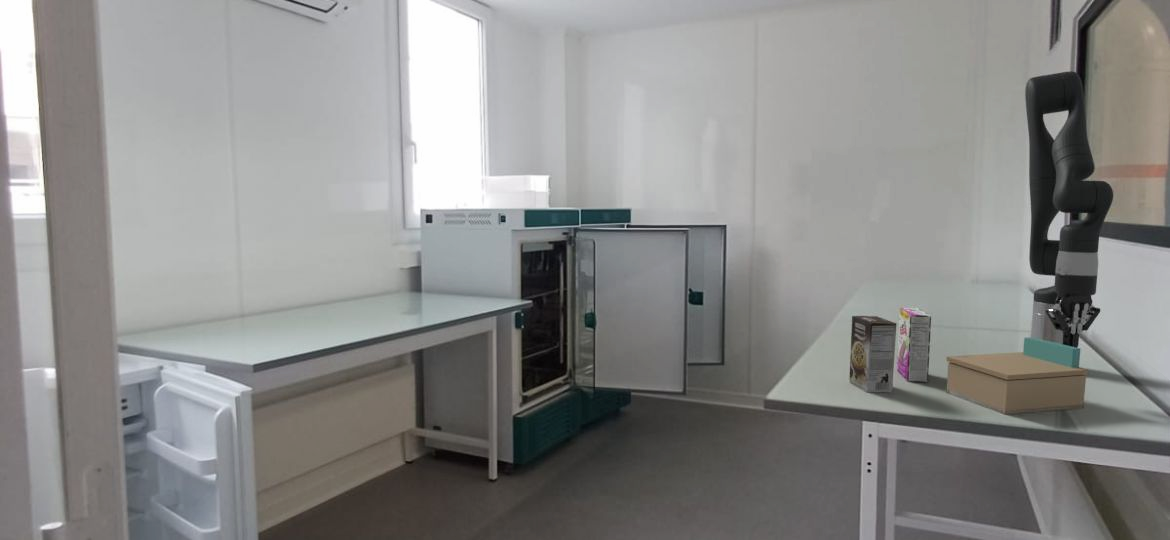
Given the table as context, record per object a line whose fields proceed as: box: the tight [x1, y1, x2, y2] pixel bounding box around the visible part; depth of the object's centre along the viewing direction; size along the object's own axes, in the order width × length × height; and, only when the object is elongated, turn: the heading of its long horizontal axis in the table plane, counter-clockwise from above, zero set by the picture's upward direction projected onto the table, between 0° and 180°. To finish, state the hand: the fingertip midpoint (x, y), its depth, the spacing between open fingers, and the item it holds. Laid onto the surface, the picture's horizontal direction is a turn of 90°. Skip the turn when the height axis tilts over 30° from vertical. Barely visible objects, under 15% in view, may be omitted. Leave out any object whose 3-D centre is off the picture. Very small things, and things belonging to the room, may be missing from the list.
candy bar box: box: [896, 307, 932, 383], centre depth 168 cm, size 11×5×16 cm, turn 168°
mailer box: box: [946, 361, 1087, 415], centre depth 149 cm, size 20×16×7 cm
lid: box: [946, 336, 1090, 380], centre depth 149 cm, size 21×17×5 cm
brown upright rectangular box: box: [848, 315, 897, 393], centre depth 159 cm, size 9×6×16 cm
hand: (1069, 349), depth 152 cm, fingers closed
